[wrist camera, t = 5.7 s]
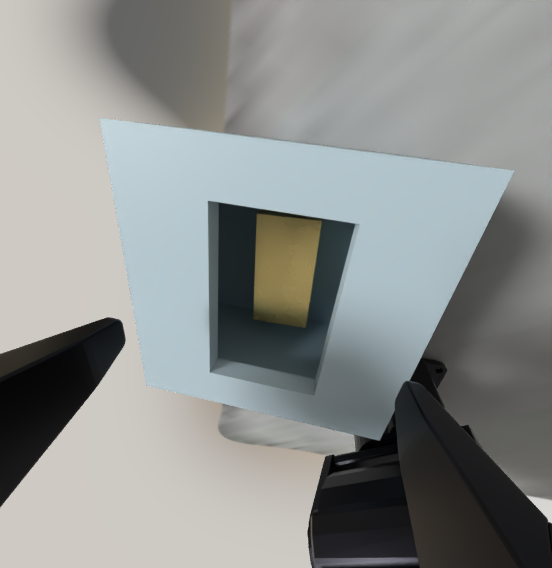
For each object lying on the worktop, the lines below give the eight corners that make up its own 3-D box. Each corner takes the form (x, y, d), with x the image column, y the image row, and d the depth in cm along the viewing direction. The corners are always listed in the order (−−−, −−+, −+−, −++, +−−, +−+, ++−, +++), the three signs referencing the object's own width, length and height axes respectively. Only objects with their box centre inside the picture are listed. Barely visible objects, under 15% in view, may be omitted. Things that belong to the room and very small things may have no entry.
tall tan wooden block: (323, 203, 15) (321, 220, 12) (310, 293, 18) (305, 328, 15) (272, 198, 16) (256, 213, 12) (267, 286, 19) (253, 319, 15)
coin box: (362, 335, 20) (379, 440, 13) (207, 305, 21) (146, 385, 14) (422, 157, 14) (514, 170, 7) (204, 130, 15) (99, 117, 8)
